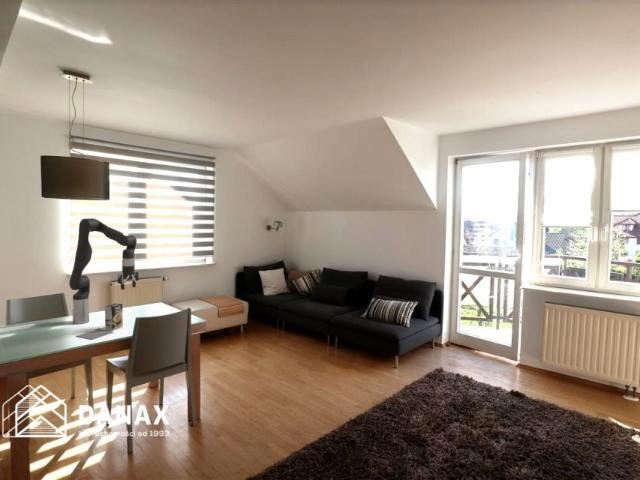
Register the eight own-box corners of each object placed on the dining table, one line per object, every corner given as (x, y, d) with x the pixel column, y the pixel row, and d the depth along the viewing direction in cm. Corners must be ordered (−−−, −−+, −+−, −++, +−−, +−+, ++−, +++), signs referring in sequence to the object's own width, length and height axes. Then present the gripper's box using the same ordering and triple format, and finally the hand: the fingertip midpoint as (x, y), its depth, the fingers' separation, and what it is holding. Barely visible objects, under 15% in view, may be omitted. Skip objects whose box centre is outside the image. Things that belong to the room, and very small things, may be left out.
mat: (76, 336, 223) (76, 336, 223) (98, 329, 237) (98, 328, 237) (92, 339, 218) (92, 339, 218) (113, 332, 232) (113, 331, 232)
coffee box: (113, 330, 235) (112, 307, 234) (104, 330, 236) (104, 306, 235) (123, 326, 244) (122, 303, 243) (115, 325, 245) (114, 303, 244)
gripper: (133, 263, 247) (133, 285, 249) (114, 265, 234) (115, 289, 236) (141, 264, 245) (141, 287, 246) (123, 266, 231) (123, 291, 233)
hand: (128, 288), depth 241 cm, fingers open, 8 cm apart
